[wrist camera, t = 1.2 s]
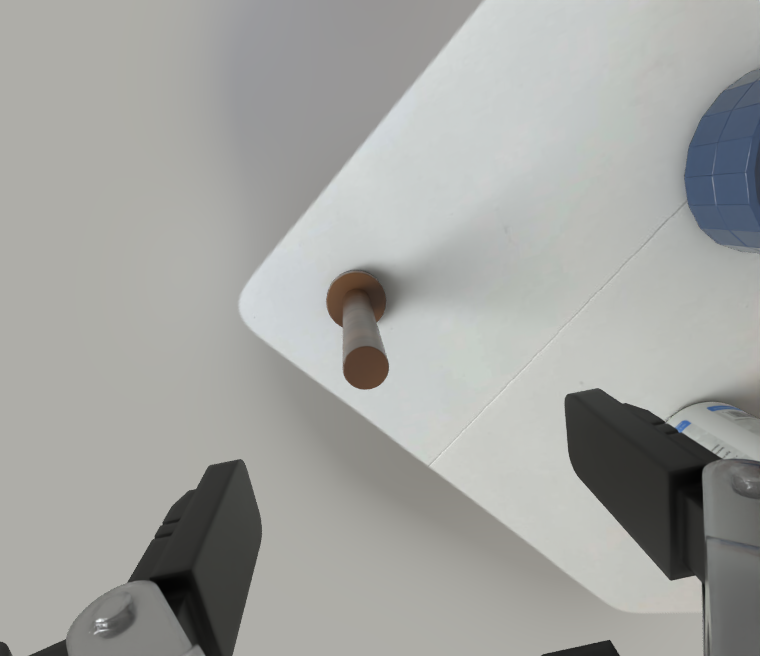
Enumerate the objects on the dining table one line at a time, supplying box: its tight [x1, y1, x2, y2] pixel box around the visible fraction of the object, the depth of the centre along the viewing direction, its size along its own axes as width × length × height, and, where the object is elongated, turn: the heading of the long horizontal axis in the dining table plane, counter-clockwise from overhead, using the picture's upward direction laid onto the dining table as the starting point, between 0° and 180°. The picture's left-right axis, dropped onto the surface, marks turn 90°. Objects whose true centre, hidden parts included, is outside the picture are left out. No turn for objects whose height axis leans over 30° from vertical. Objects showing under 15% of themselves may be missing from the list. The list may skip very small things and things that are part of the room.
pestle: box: [326, 270, 389, 389], centre depth 27 cm, size 4×4×16 cm
